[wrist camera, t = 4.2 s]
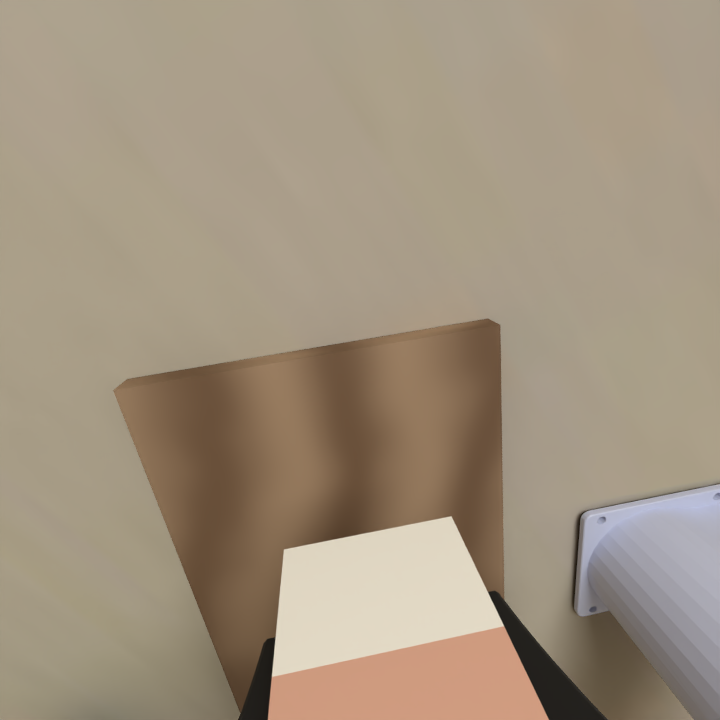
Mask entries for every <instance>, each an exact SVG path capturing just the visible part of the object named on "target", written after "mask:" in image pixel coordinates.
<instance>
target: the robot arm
mask: <svg viewBox="0 0 720 720" xmlns="http://www.w3.org/2000/svg"><path fill="white" fill-rule="evenodd" d="M488 594H489V596H490V598H491V600H492V602H493V604H494V606H495V608H496V610H497V612H498V615H499V617H500V619H501V621H502V623H503V625H504V627H505V629H506V631H507V633H508V635H509V638H510V640H511V642H512V644H513V646H514V648H515V650H516V652H517V654H518V656H519V658H520V660H521V663H522V665H523V667H524V669H525V671H526V673H527V675H528V677H529V679H530V681H531V683H532V686H533V688H534V690H535V692H536V694H537V696H538V698H539V700H540V702H541V704H542V706H543V708H544V711H545V713H546V715H547V717H548V719H549V720H607V719H606V717H605V716H604V715H603V714H602V713H601V712H600V711H599V710H598V709H597V708H596V707H595V706H594V705H593V704H592V703H591V702H590V701H589V700H588V698H587V697H586V696H585V695H584V694H583V693H582V692H581V691H580V690H579V689H578V688H577V686H576V685H575V684H574V683H573V682H572V681H571V680H570V679H569V678H568V676H567V675H566V674H565V673H564V672H563V671H562V670H561V669H560V667H559V666H558V665H557V664H556V663H555V662H554V661H553V660H552V658H551V657H550V656H549V655H548V654H547V653H546V651H545V650H544V649H543V648H542V647H541V646H540V644H539V643H538V642H537V641H536V640H535V638H534V637H533V636H532V635H531V634H530V632H529V631H528V630H527V629H526V627H525V626H524V625H523V624H522V622H521V621H520V620H519V619H518V617H517V616H516V615H515V614H514V612H513V611H512V610H511V608H510V607H509V606H508V605H507V603H506V602H505V601H504V599H503V598H502V597H501V595H500V594H499V593H498V592H496V591H490V592H488ZM574 609H575V611H576V612H577V614H578V615H579V616H588V615H593V614H597V613H602V612H606V611H610V612H611V613H612V615H613V616H614V617H615V619H616V620H617V621H618V622H619V624H620V625H621V626H622V628H623V629H624V630H625V632H626V633H627V634H628V635H629V637H630V638H631V639H632V641H633V642H634V643H635V644H636V646H637V647H638V648H639V650H640V651H641V652H642V653H643V655H644V656H645V657H646V659H647V660H648V661H649V662H650V664H651V665H652V666H653V668H654V669H655V670H656V671H657V673H658V674H659V675H660V677H661V678H662V679H663V681H664V682H665V683H666V684H667V686H668V687H669V688H670V690H671V691H672V692H673V693H674V695H675V696H676V697H677V699H678V700H679V701H680V702H681V704H682V705H683V706H684V708H685V709H686V710H687V711H688V713H689V714H690V715H691V717H692V718H693V719H694V720H720V484H718V485H713V486H708V487H703V488H698V489H693V490H688V491H683V492H678V493H674V494H669V495H664V496H659V497H654V498H649V499H644V500H639V501H634V502H629V503H624V504H619V505H615V506H610V507H605V508H600V509H595V510H590V511H587V512H585V513H584V514H583V515H582V516H581V519H580V533H579V547H578V561H577V575H576V588H575V602H574ZM275 639H276V637H274V638H269V639H267V640H266V641H265V642H264V643H263V647H262V650H261V654H260V657H259V660H258V663H257V667H256V670H255V673H254V676H253V679H252V682H251V685H250V688H249V691H248V694H247V697H246V700H245V702H244V705H243V708H242V711H241V714H240V717H239V719H238V720H268V713H269V702H270V692H271V681H272V670H273V660H274V649H275Z"/></svg>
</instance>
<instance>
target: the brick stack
mask: <svg viewBox="0 0 720 720" xmlns="http://www.w3.org/2000/svg"><path fill="white" fill-rule="evenodd" d="M268 720H549V719H548V717H547V715H546V713H545V711H544V708H543V706H542V704H541V702H540V700H539V698H538V696H537V694H536V692H535V690H534V688H533V686H532V683H531V681H530V679H529V677H528V675H527V673H526V671H525V669H524V667H523V665H522V663H521V660H520V658H519V656H518V654H517V652H516V650H515V648H514V646H513V644H512V642H511V640H510V638H509V635H508V633H507V631H506V629H505V627H504V625H503V623H502V621H501V619H500V617H499V615H498V612H497V610H496V608H495V606H494V604H493V602H492V600H491V598H490V596H489V594H488V592H487V590H486V587H485V585H484V583H483V581H482V579H481V577H480V575H479V573H478V571H477V569H476V567H475V564H474V562H473V560H472V558H471V556H470V554H469V552H468V550H467V548H466V546H465V544H464V542H463V539H462V537H461V535H460V533H459V531H458V529H457V527H456V525H455V523H454V521H453V519H452V516H450V517H445V518H440V519H435V520H430V521H425V522H420V523H415V524H410V525H405V526H400V527H395V528H390V529H385V530H380V531H375V532H370V533H365V534H360V535H355V536H350V537H345V538H339V539H334V540H329V541H324V542H319V543H314V544H309V545H304V546H299V547H294V548H289V549H284V554H283V565H282V575H281V586H280V597H279V607H278V618H277V628H276V639H275V649H274V660H273V670H272V681H271V692H270V702H269V713H268Z"/></svg>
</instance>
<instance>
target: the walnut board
mask: <svg viewBox="0 0 720 720" xmlns="http://www.w3.org/2000/svg"><path fill="white" fill-rule="evenodd" d="M113 391H114V393H115V396H116V398H117V401H118V404H119V406H120V409H121V411H122V414H123V416H124V419H125V421H126V424H127V426H128V429H129V431H130V434H131V437H132V439H133V442H134V444H135V447H136V449H137V452H138V454H139V457H140V459H141V462H142V464H143V467H144V469H145V472H146V475H147V477H148V480H149V482H150V485H151V487H152V490H153V492H154V495H155V497H156V500H157V502H158V505H159V508H160V510H161V513H162V515H163V518H164V520H165V523H166V525H167V528H168V530H169V533H170V535H171V538H172V541H173V543H174V546H175V548H176V551H177V553H178V556H179V558H180V561H181V563H182V566H183V568H184V571H185V574H186V576H187V579H188V581H189V584H190V586H191V589H192V591H193V594H194V596H195V599H196V601H197V604H198V607H199V609H200V612H201V614H202V617H203V619H204V622H205V624H206V627H207V629H208V632H209V634H210V637H211V639H212V642H213V645H214V647H215V650H216V652H217V655H218V657H219V660H220V662H221V665H222V667H223V670H224V672H225V675H226V678H227V680H228V683H229V685H230V688H231V690H232V693H233V695H234V698H235V700H236V703H237V705H238V708H239V711H240V713H241V711H242V708H243V705H244V702H245V700H246V697H247V694H248V691H249V688H250V685H251V682H252V679H253V676H254V673H255V670H256V667H257V663H258V660H259V657H260V654H261V650H262V647H263V643H264V642H265V641H266V640H267V639H269V638H274V637H276V628H277V618H278V607H279V597H280V586H281V575H282V565H283V554H284V549H289V548H294V547H299V546H304V545H309V544H314V543H319V542H324V541H329V540H334V539H339V538H345V537H350V536H355V535H360V534H365V533H370V532H375V531H380V530H385V529H390V528H395V527H400V526H405V525H410V524H415V523H420V522H425V521H430V520H435V519H440V518H445V517H450V516H452V519H453V521H454V523H455V525H456V527H457V529H458V531H459V533H460V535H461V537H462V539H463V542H464V544H465V546H466V548H467V550H468V552H469V554H470V556H471V558H472V560H473V562H474V564H475V567H476V569H477V571H478V573H479V575H480V577H481V579H482V581H483V583H484V585H485V587H486V590H487V592H490V591H496V592H498V593H499V594H500V595H501V597H502V598H503V599H504V553H503V483H502V414H501V345H500V325H499V324H497V323H495V322H493V321H491V320H489V319H484V320H478V321H472V322H466V323H460V324H454V325H448V326H442V327H436V328H430V329H424V330H418V331H412V332H406V333H400V334H394V335H388V336H382V337H376V338H370V339H364V340H358V341H352V342H346V343H340V344H334V345H328V346H323V347H317V348H311V349H305V350H299V351H293V352H287V353H281V354H275V355H269V356H263V357H257V358H251V359H245V360H239V361H233V362H227V363H221V364H215V365H209V366H203V367H197V368H191V369H185V370H179V371H173V372H167V373H161V374H155V375H149V376H143V377H137V378H131V379H127V380H126V381H124V382H123V383H122V384H121V385H119V386H118V387H117V388H116V389H114V390H113Z"/></svg>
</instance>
